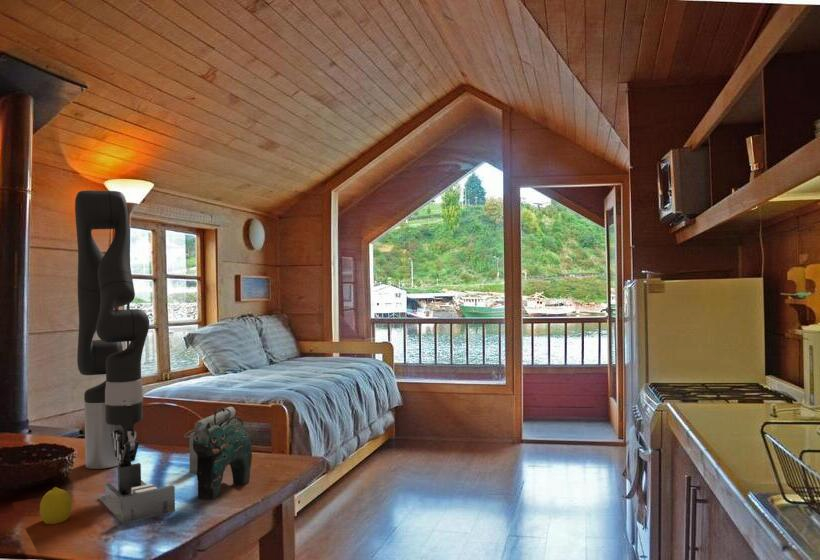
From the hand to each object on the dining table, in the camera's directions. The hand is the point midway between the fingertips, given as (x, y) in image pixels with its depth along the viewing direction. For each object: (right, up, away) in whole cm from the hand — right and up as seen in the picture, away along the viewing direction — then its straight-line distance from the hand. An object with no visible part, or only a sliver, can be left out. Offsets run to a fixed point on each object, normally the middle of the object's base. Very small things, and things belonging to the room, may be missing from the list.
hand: (125, 478), depth 140 cm
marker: (+9, -4, -11) cm, 14 cm away
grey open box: (+5, -5, -5) cm, 9 cm away
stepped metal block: (+5, -3, -6) cm, 8 cm away
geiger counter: (+12, -5, +29) cm, 31 cm away
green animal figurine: (+20, -5, +5) cm, 22 cm away
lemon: (-7, -6, -14) cm, 17 cm away
